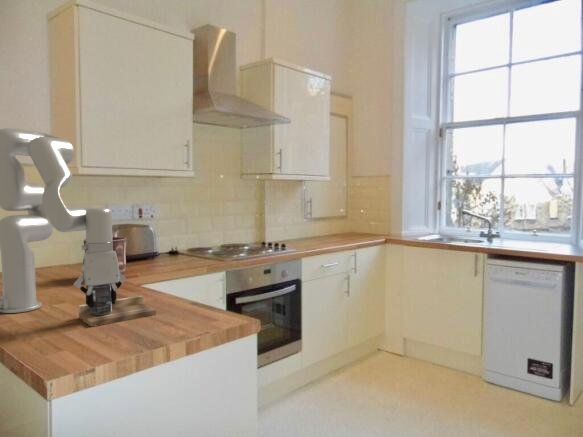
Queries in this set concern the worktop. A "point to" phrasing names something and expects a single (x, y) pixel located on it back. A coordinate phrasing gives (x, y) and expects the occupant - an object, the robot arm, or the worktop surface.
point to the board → (117, 311)
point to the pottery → (119, 252)
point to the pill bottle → (101, 299)
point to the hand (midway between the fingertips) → (101, 304)
